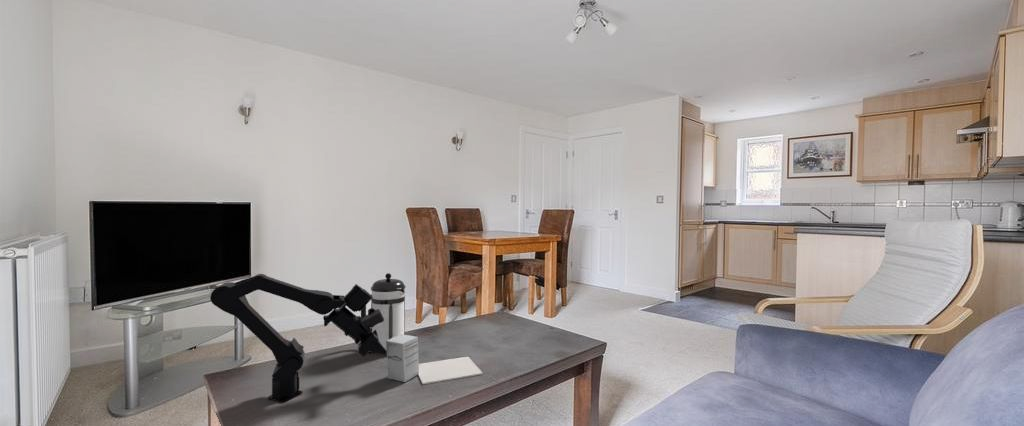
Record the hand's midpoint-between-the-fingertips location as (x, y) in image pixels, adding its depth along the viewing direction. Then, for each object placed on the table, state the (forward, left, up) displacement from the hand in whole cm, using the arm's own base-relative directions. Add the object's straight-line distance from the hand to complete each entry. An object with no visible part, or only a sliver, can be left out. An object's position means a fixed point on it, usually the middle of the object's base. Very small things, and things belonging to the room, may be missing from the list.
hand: (385, 352), depth 129 cm
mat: (+14, -14, -9) cm, 22 cm away
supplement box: (+4, -4, -9) cm, 10 cm away
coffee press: (+22, +18, -9) cm, 30 cm away
